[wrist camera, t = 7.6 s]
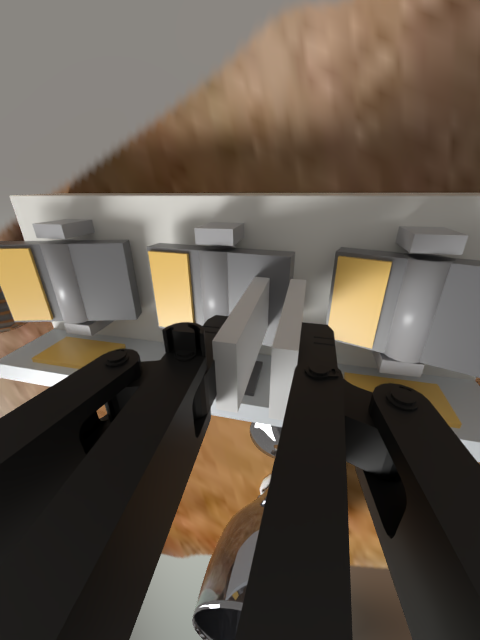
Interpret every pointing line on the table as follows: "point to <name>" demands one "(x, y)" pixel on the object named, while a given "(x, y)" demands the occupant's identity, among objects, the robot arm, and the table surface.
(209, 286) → the switch middle
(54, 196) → the switch unit
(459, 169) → the table surface
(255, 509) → the wine glass
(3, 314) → the vase
